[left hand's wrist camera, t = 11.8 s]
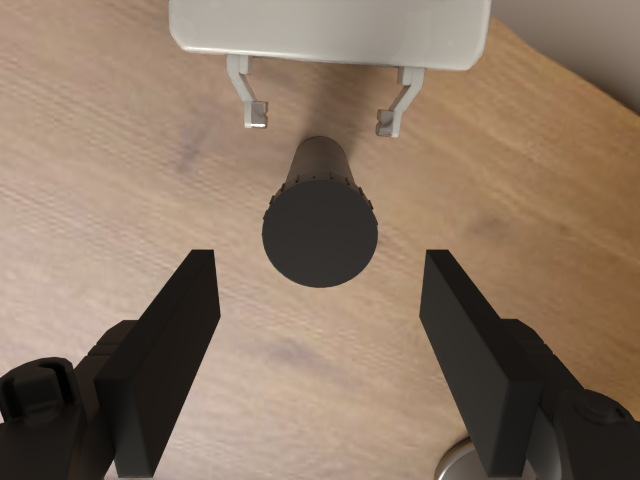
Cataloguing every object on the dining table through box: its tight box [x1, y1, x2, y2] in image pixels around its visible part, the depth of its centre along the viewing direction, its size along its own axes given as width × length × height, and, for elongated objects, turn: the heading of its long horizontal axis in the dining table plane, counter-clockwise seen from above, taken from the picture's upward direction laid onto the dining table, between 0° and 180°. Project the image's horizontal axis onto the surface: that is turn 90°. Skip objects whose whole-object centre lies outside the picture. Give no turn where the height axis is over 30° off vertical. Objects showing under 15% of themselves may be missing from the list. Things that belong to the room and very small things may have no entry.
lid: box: [262, 171, 378, 288], centre depth 20 cm, size 6×6×2 cm
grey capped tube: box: [285, 136, 355, 184], centre depth 27 cm, size 5×5×18 cm
